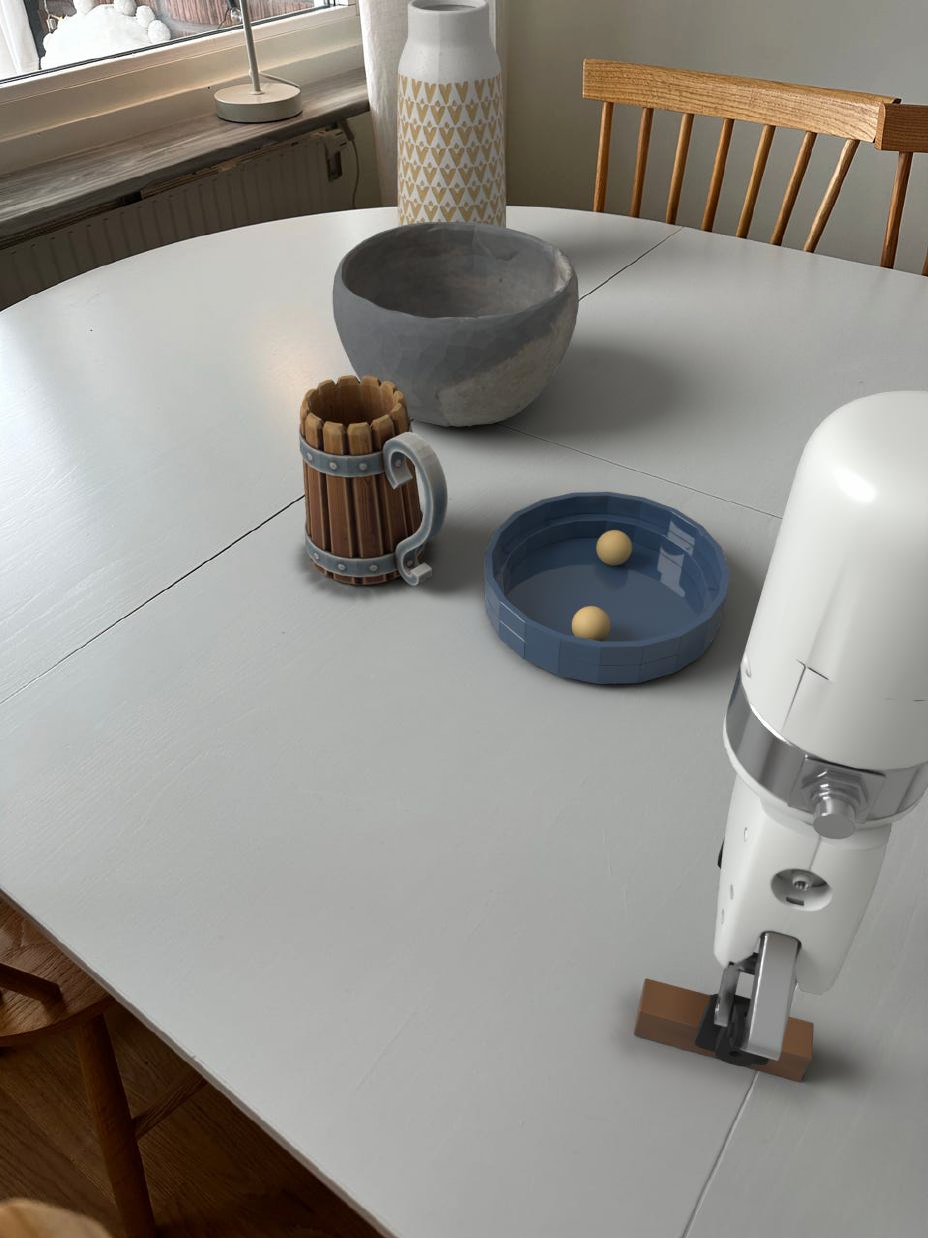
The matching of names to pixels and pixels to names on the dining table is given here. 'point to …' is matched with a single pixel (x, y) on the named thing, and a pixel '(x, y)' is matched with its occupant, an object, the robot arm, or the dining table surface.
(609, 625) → the bead
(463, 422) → the bowl
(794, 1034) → the brown wooden block
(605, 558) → the bead
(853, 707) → the robot arm
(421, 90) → the vase
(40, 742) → the dining table surface
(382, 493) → the mug
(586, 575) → the round tray
